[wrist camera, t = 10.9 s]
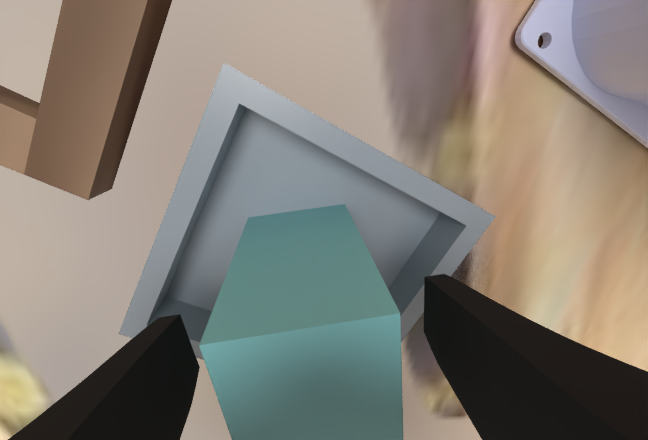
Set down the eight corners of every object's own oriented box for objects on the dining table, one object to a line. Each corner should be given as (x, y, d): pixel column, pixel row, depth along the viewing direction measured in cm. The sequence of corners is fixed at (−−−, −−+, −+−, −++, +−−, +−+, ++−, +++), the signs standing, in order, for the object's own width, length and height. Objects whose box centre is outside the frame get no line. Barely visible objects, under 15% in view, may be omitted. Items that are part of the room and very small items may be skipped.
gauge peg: (344, 203, 13) (400, 313, 6) (352, 284, 14) (403, 442, 8) (248, 217, 12) (198, 345, 6) (266, 297, 14) (243, 470, 7)
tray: (461, 196, 14) (495, 216, 11) (345, 362, 17) (353, 404, 14) (238, 70, 11) (223, 62, 9) (147, 295, 14) (118, 333, 12)
